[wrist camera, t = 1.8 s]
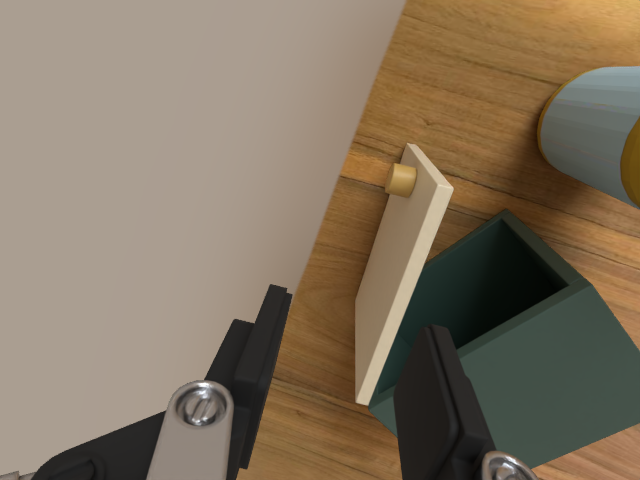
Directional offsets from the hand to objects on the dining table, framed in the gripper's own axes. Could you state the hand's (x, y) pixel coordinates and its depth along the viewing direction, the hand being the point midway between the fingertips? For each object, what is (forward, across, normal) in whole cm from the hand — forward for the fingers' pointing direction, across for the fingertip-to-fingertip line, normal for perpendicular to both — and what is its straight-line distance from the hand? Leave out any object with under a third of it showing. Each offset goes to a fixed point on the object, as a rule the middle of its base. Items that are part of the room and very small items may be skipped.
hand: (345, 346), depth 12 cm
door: (+19, -3, +3) cm, 19 cm away
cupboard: (+19, -12, +8) cm, 24 cm away
